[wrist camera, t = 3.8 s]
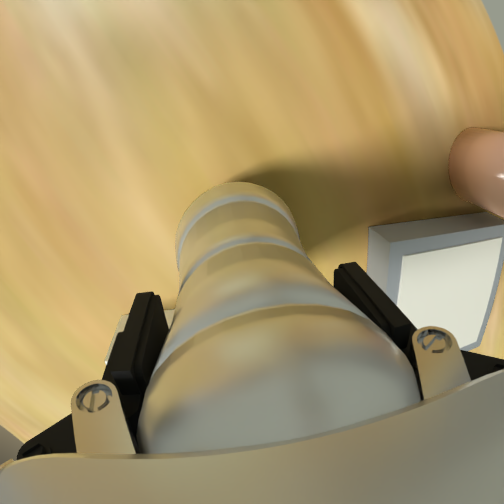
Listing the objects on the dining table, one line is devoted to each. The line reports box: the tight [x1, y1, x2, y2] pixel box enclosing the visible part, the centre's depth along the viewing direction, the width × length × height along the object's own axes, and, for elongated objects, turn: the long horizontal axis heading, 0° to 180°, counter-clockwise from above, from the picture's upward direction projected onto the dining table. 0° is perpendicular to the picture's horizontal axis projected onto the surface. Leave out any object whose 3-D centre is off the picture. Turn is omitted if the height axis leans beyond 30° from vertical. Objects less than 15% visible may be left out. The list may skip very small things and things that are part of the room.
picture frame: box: [367, 212, 504, 351], centre depth 22 cm, size 12×12×3 cm
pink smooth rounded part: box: [448, 127, 504, 218], centre depth 17 cm, size 6×6×6 cm
